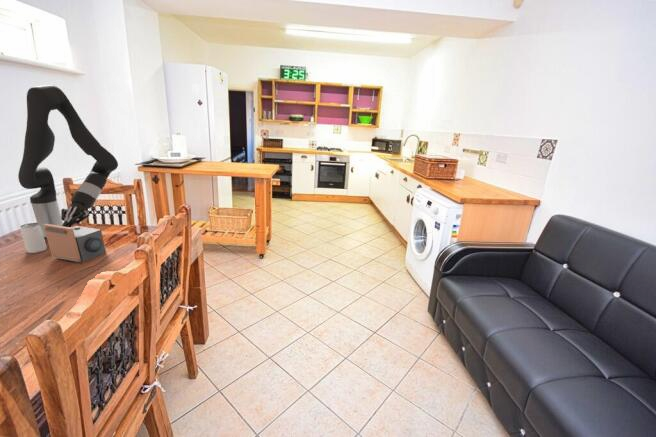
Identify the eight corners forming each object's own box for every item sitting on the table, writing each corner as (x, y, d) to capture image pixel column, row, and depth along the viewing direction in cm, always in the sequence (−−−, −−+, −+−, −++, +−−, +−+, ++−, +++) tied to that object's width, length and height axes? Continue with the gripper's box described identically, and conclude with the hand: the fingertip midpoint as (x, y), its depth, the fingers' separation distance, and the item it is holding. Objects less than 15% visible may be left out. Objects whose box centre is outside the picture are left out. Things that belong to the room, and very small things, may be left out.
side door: (81, 261, 122) (72, 227, 117) (76, 263, 120) (67, 229, 115) (56, 256, 125) (46, 223, 120) (50, 258, 123) (40, 225, 118)
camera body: (109, 253, 131) (104, 228, 128) (87, 263, 122) (80, 237, 118) (81, 248, 135) (75, 224, 131) (57, 257, 126) (50, 232, 122)
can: (34, 254, 128) (26, 228, 124) (23, 252, 129) (14, 226, 125) (50, 248, 134) (43, 223, 130) (39, 246, 135) (32, 221, 131)
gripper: (66, 189, 126) (41, 225, 118) (91, 192, 123) (66, 229, 115) (82, 198, 132) (59, 233, 125) (105, 201, 129) (83, 237, 122)
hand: (63, 231), depth 120 cm, fingers closed
